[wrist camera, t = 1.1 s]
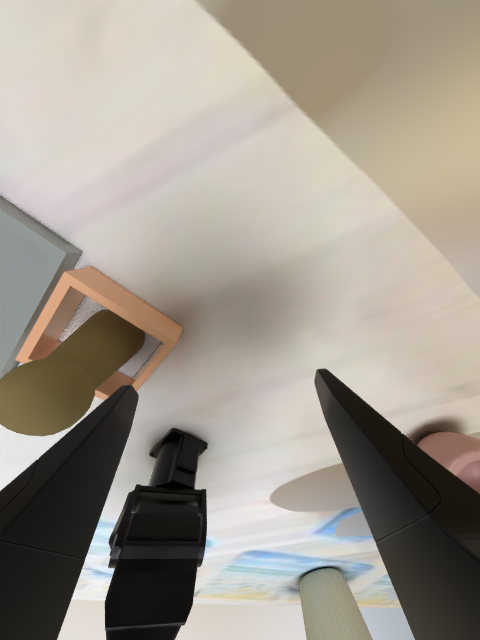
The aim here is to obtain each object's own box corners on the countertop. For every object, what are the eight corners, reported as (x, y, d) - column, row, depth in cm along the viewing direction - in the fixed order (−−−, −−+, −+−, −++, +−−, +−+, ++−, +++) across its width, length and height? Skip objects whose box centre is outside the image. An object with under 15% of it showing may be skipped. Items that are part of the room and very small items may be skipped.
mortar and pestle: (470, 410, 33) (588, 491, 22) (448, 454, 37) (537, 537, 27) (403, 422, 32) (491, 510, 22) (390, 465, 37) (457, 554, 26)
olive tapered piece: (149, 319, 21) (83, 391, 11) (139, 362, 23) (76, 457, 13) (89, 301, 20) (-49, 365, 10) (84, 349, 22) (-34, 443, 12)
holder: (135, 386, 24) (122, 408, 21) (46, 341, 21) (15, 359, 18) (183, 327, 22) (177, 342, 19) (91, 266, 18) (64, 271, 15)
